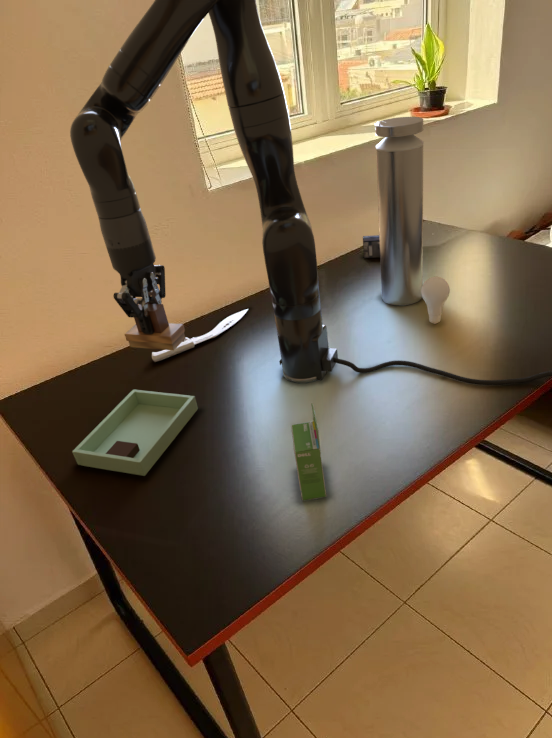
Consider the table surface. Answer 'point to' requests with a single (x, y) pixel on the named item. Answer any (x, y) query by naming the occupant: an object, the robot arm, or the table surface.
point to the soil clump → (124, 449)
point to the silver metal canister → (400, 209)
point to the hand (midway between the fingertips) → (154, 328)
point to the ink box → (308, 459)
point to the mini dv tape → (371, 246)
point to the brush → (156, 331)
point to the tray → (137, 431)
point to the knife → (191, 342)
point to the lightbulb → (435, 296)
